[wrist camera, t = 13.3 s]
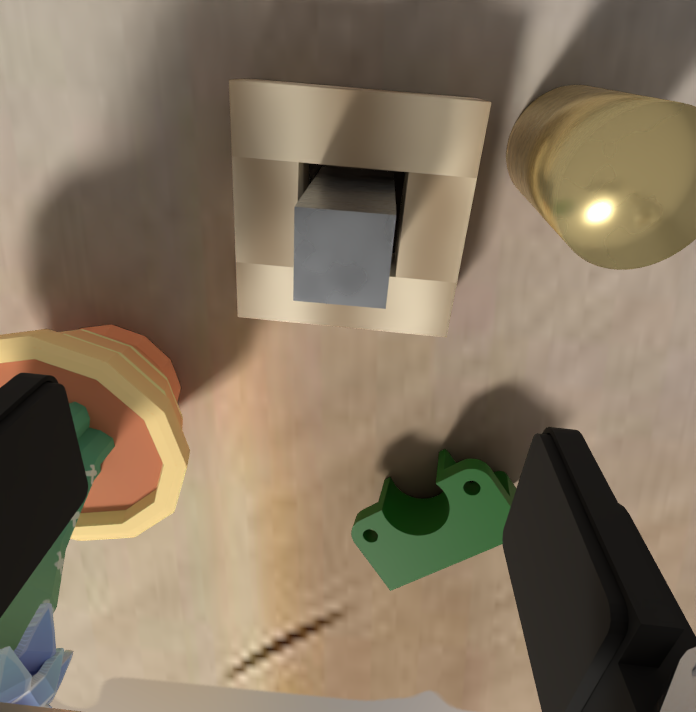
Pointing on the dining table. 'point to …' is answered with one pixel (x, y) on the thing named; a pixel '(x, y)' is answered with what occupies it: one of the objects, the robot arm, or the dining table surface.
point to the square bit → (345, 237)
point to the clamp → (435, 522)
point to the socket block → (362, 150)
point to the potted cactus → (93, 474)
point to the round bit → (609, 172)
